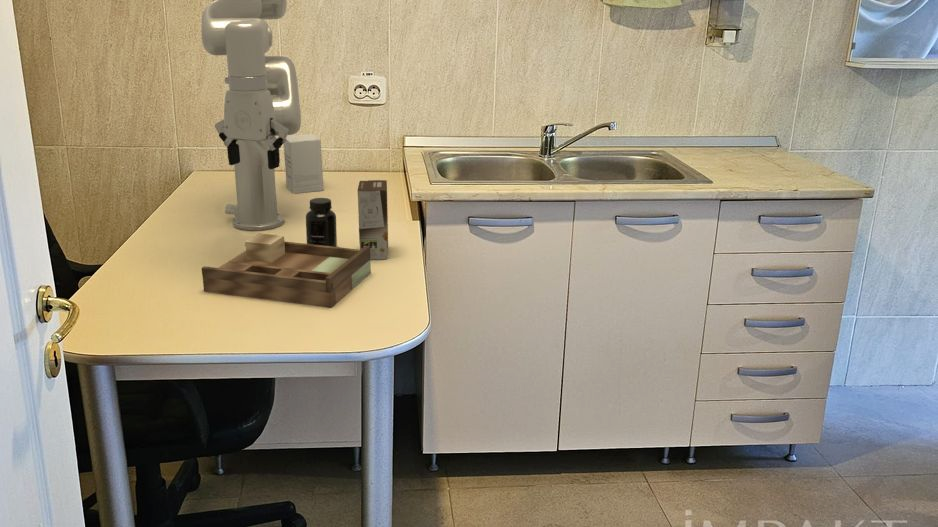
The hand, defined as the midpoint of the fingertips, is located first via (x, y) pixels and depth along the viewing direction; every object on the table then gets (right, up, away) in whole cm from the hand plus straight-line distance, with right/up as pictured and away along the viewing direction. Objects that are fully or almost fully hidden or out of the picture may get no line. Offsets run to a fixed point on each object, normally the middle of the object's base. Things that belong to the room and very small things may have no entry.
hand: (254, 165), depth 184 cm
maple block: (+2, -19, +2) cm, 19 cm away
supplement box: (-2, +1, +66) cm, 66 cm away
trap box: (+8, -24, -3) cm, 26 cm away
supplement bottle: (+12, -18, +16) cm, 27 cm away
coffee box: (+24, -18, +14) cm, 33 cm away
